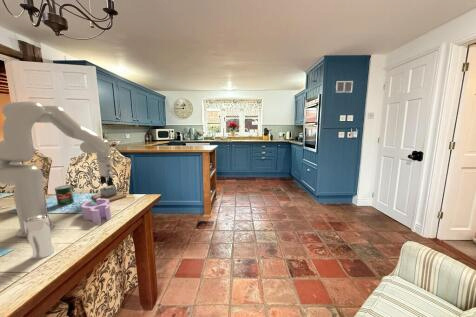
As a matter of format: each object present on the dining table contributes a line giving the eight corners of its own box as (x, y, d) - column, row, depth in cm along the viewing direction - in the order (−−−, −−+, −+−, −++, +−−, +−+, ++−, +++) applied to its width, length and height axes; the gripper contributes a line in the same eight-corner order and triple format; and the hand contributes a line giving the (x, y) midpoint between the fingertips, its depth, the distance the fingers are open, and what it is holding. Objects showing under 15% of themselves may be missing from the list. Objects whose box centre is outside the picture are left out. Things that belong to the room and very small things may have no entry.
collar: (116, 194, 136) (116, 187, 136) (105, 198, 131) (104, 190, 130) (112, 192, 140) (111, 186, 140) (100, 196, 135) (99, 188, 134)
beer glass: (60, 248, 81) (54, 213, 78) (44, 259, 74) (37, 222, 71) (42, 248, 81) (35, 213, 78) (25, 260, 74) (16, 222, 71)
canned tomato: (70, 200, 132) (67, 184, 130) (76, 202, 128) (74, 185, 126) (55, 204, 125) (52, 188, 123) (61, 207, 121) (58, 189, 119)
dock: (126, 196, 137) (125, 186, 135) (103, 203, 125) (102, 192, 124) (113, 192, 147) (112, 182, 145) (91, 198, 135) (90, 187, 134)
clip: (117, 217, 107) (116, 205, 106) (89, 226, 98) (87, 213, 97) (106, 207, 120) (104, 196, 119) (80, 214, 111) (78, 202, 110)
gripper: (116, 159, 129) (119, 185, 132) (104, 157, 139) (107, 181, 142) (103, 161, 123) (106, 188, 126) (91, 158, 133) (95, 183, 136)
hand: (106, 184), depth 134 cm, fingers open, 9 cm apart
